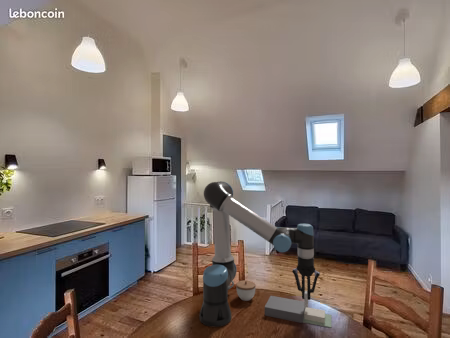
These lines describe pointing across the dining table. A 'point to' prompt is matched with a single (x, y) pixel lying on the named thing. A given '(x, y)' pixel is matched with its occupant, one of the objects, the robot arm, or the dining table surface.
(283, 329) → the dining table surface
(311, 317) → the tile
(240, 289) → the lidded jar
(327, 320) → the mat
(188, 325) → the dining table surface
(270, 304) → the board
